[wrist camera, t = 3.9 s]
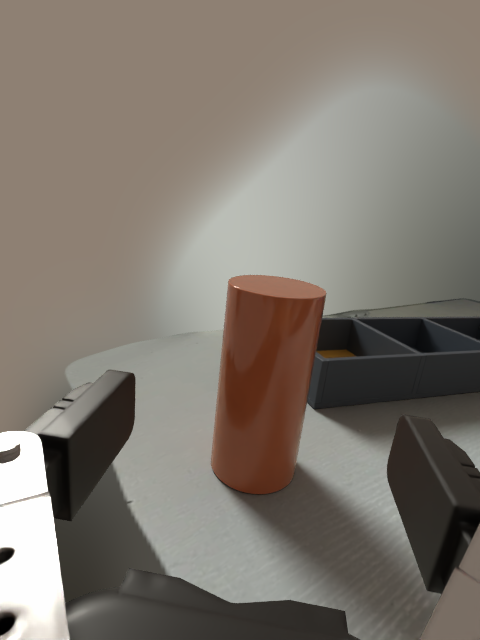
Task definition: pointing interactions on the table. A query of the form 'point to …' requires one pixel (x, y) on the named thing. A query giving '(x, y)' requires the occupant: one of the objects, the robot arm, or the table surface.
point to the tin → (264, 380)
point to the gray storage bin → (394, 359)
